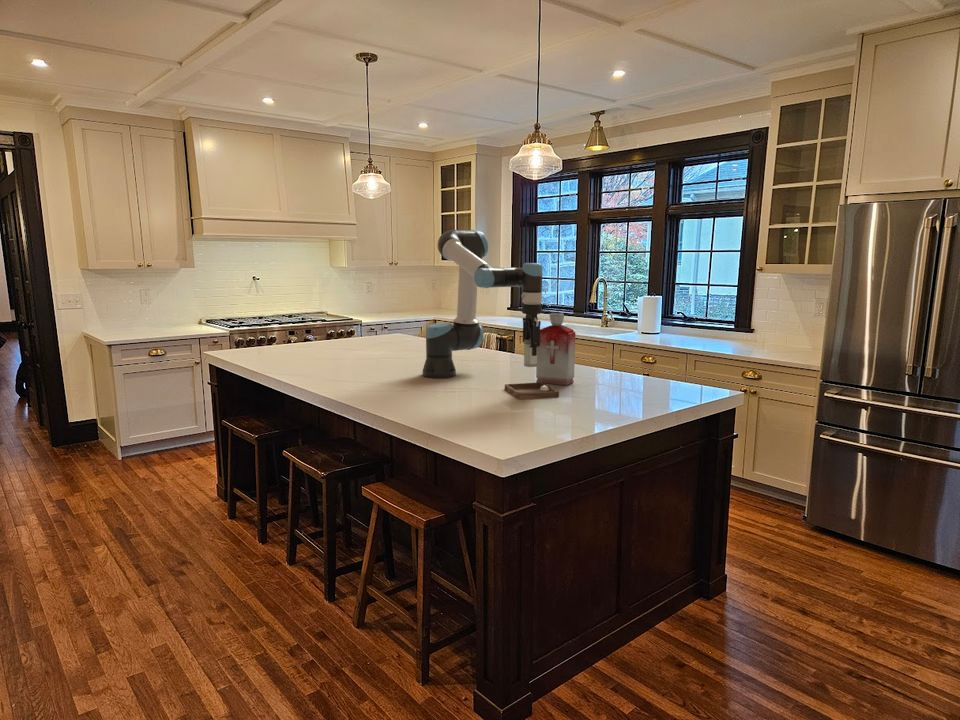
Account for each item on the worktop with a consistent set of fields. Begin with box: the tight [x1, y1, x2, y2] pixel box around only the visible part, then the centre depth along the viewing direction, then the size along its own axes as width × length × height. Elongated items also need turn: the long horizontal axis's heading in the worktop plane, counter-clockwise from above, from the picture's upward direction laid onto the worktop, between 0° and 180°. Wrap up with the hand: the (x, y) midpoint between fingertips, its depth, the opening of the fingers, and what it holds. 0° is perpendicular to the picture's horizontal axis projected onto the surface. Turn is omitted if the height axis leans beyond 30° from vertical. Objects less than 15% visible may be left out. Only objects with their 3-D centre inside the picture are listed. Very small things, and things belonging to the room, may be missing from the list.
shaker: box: [523, 338, 538, 368], centre depth 245 cm, size 6×6×11 cm
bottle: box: [535, 312, 576, 387], centre depth 264 cm, size 14×10×30 cm
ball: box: [540, 385, 549, 392], centre depth 244 cm, size 4×4×4 cm
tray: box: [504, 382, 560, 400], centre depth 247 cm, size 18×16×2 cm
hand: (530, 362), depth 246 cm, fingers closed on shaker, 5 cm apart
